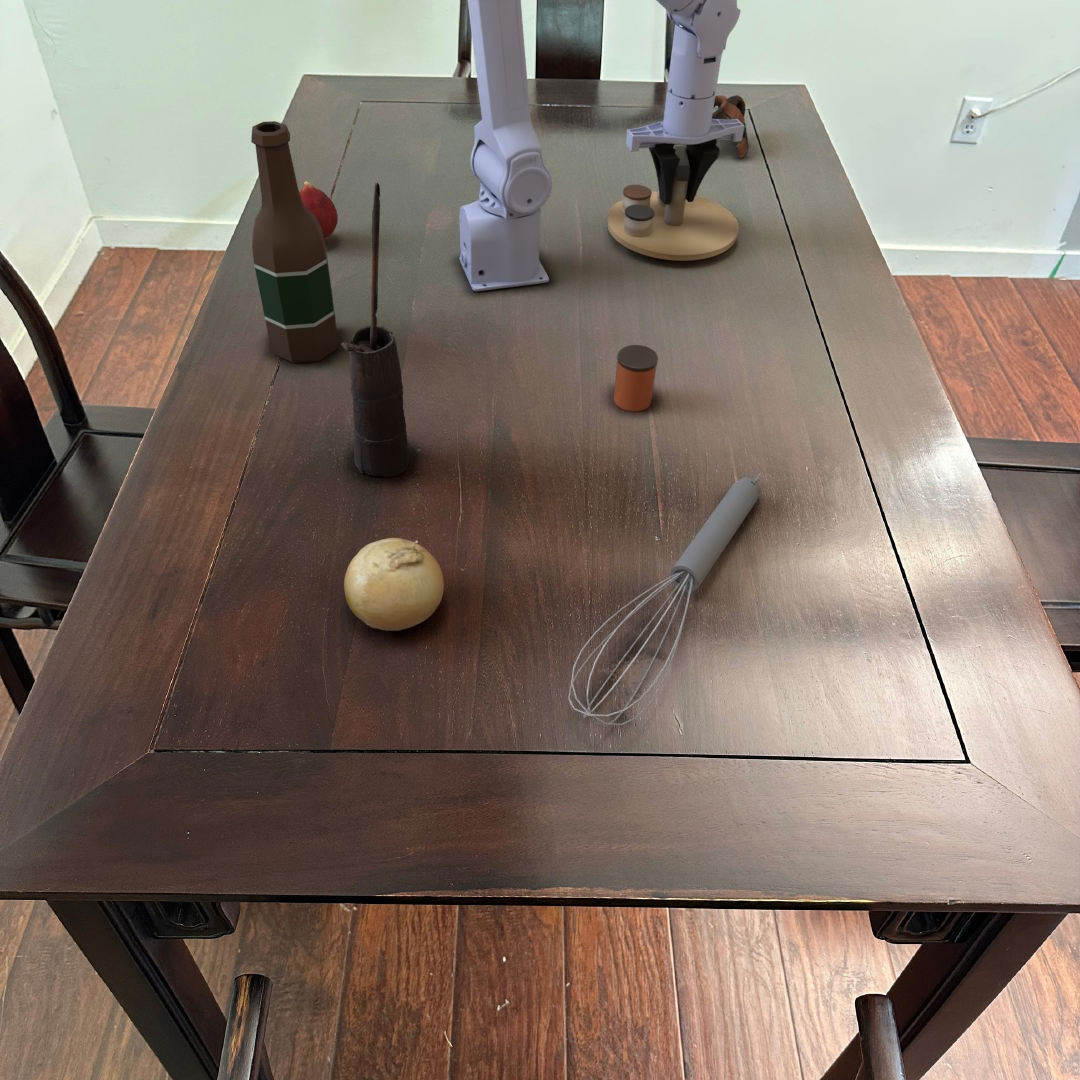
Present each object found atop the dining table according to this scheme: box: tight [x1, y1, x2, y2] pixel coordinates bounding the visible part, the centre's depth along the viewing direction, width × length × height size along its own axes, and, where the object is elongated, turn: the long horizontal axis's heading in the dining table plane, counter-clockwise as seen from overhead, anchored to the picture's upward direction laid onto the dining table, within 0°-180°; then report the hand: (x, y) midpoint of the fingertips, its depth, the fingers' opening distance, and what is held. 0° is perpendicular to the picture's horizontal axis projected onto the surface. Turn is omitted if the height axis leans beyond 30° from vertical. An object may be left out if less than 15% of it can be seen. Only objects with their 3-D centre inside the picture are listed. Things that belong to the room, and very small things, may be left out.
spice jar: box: [613, 344, 659, 412], centre depth 100 cm, size 4×4×6 cm
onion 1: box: [299, 180, 339, 241], centre depth 119 cm, size 6×6×8 cm
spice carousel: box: [606, 145, 740, 262], centre depth 122 cm, size 17×17×10 cm
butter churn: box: [340, 182, 410, 478], centre depth 83 cm, size 9×10×28 cm
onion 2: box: [343, 537, 445, 632], centre depth 78 cm, size 8×8×7 cm
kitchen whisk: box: [568, 472, 761, 728], centre depth 80 cm, size 6×34×6 cm, turn 149°
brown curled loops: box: [712, 94, 749, 159], centre depth 145 cm, size 12×10×8 cm
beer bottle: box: [250, 120, 339, 364], centre depth 98 cm, size 8×8×24 cm
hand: (676, 199), depth 123 cm, fingers closed on spice carousel, 3 cm apart
